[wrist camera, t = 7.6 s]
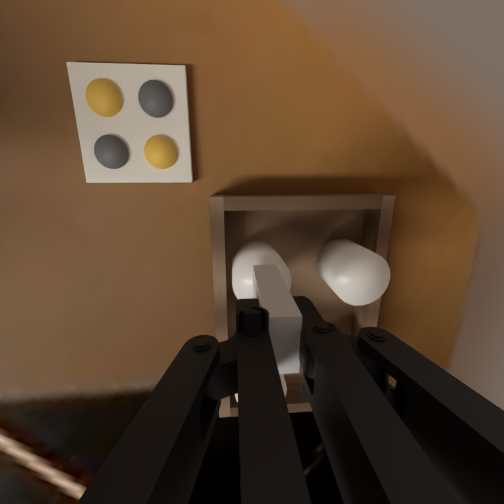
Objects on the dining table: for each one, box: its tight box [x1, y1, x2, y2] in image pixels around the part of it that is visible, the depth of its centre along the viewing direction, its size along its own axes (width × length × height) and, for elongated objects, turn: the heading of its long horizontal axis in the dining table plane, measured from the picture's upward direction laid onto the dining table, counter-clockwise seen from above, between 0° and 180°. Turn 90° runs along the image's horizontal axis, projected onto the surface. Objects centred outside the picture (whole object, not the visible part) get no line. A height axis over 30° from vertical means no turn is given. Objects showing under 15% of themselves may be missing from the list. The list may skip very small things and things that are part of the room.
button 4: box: [232, 240, 291, 300], centre depth 19 cm, size 4×4×4 cm
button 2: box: [316, 239, 390, 306], centre depth 20 cm, size 4×4×4 cm
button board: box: [209, 194, 396, 418], centre depth 23 cm, size 20×14×3 cm
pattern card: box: [66, 62, 193, 183], centre depth 19 cm, size 8×8×1 cm
